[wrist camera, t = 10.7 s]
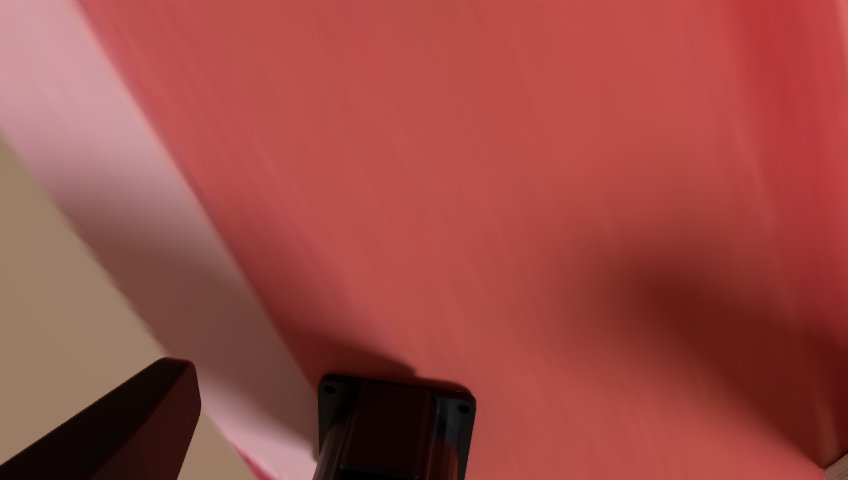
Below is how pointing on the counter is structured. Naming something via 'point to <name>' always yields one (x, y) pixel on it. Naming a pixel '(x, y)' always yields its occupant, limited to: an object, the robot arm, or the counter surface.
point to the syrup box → (838, 470)
